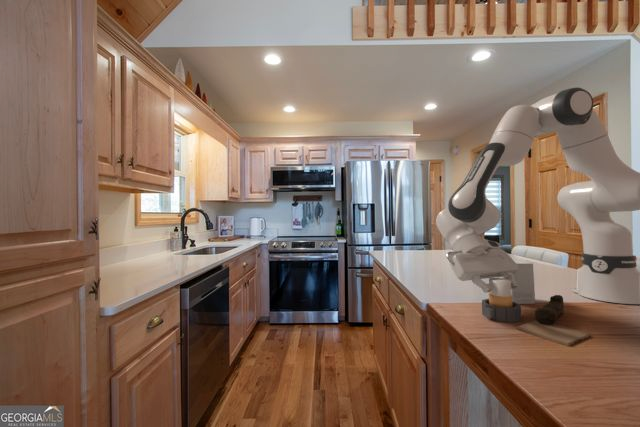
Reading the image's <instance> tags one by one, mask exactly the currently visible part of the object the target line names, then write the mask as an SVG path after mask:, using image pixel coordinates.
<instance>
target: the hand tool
mask: <svg viewBox="0 0 640 427" xmlns="http://www.w3.org/2000/svg"><path fill="white" fill-rule="evenodd" d="M564 307H565V306H564V297H563V296H562V295H560V294H558V295H557V294H554V295H552V296H550V299H549V301H548V302H547V303H546V304H544V306H542V307H541V308H540V307H537V308H536V309H535V311H534V316H535V317H534V320H537V321H538V322H539V323H541V324H546V325H553V324H556V320H557V318H559V316H560V315H563V314H564Z"/></svg>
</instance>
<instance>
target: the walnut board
mask: <svg viewBox="0 0 640 427" xmlns="http://www.w3.org/2000/svg"><path fill="white" fill-rule="evenodd" d="M515 330H517V331H521V332H523V333H527V334H530V335H532V336H536V337H538V338H539V337H540V338H542V339H546V340H549V341H551V342H555V343H558V344H560V345H564V346H567V347H569V346H572V345H574V344H575V342H576V343H578V342H580V341H579V340H581V339H583V340H585V339H587V338H590V337H591V333H590V332H586V331H582V330H578V329H576V328H575V329H574V328H572V327H567V326H564V325H561V324H556V323H554V324H553V325H546V324H541V323H539V322H538V321H537V320H536V319H534V320H532V321H530V322H529V321H528V322H526V323H523V324H520V325H517V326H515ZM589 336H590V337H589ZM586 337H587V338H586ZM584 338H585V339H584ZM577 341H578V342H577ZM581 341H582V340H581Z"/></svg>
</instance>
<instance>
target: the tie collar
mask: <svg viewBox="0 0 640 427" xmlns="http://www.w3.org/2000/svg"><path fill="white" fill-rule="evenodd" d="M512 302H513V301H512ZM521 308H522V307H521V304H518V303H516V302H513V307H498V306H493V305H489V298H484V299H482V300H481V311H482V312H481V313H482V314H481V315H482V316H484V317H485V318H487V319H490V320H493V321H498V322H503V323H504V322H505V323H517V322H520V321H522V309H521Z"/></svg>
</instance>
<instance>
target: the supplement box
mask: <svg viewBox="0 0 640 427" xmlns="http://www.w3.org/2000/svg"><path fill="white" fill-rule="evenodd" d="M513 260H514V259H513ZM514 262H515V263H516V264H517V265H518V271H517V272H516V273H514V274H513V275H514V279H515V282H516V283H517V284H518V287H517V288H516V289H511V295H512V301H513V302H516V303H518V304H520V305H535V304H536V293H535V292H536V291H535V274H534V263H532V262H526V261H522V260H514ZM496 278H504V277H496Z"/></svg>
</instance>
